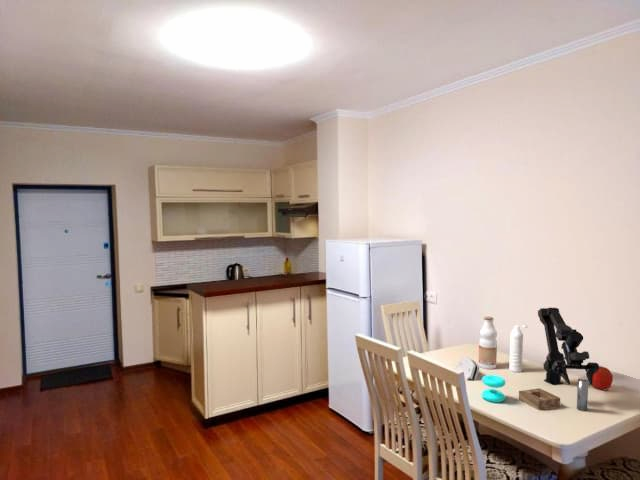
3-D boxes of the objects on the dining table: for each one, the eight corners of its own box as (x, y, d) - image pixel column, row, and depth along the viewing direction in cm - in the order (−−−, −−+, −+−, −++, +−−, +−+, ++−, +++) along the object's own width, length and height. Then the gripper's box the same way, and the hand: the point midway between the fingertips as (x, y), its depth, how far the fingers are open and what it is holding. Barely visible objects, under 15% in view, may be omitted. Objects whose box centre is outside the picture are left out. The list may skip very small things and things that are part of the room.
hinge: (453, 369, 251) (459, 352, 251) (460, 372, 252) (467, 355, 252) (467, 380, 235) (473, 362, 235) (475, 383, 236) (481, 365, 235)
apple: (614, 388, 227) (615, 365, 226) (609, 393, 219) (610, 370, 219) (590, 382, 233) (591, 360, 233) (585, 388, 226) (586, 365, 225)
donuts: (482, 373, 218) (505, 375, 214) (481, 393, 218) (504, 396, 215) (482, 380, 208) (505, 383, 205) (481, 401, 209) (505, 404, 206)
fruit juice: (484, 370, 252) (486, 319, 250) (475, 364, 261) (476, 315, 259) (499, 368, 254) (501, 319, 252) (489, 363, 263) (491, 315, 261)
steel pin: (581, 407, 204) (582, 378, 203) (589, 410, 200) (590, 381, 199) (574, 408, 202) (575, 379, 202) (582, 411, 199) (583, 382, 198)
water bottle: (511, 372, 248) (513, 326, 247) (507, 368, 255) (508, 324, 253) (528, 372, 248) (529, 327, 247) (523, 368, 254) (524, 324, 253)
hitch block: (539, 396, 215) (539, 388, 215) (560, 406, 204) (560, 398, 204) (518, 399, 212) (518, 390, 211) (538, 410, 200) (538, 401, 200)
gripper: (554, 343, 209) (563, 375, 198) (598, 345, 206) (609, 377, 196) (547, 355, 217) (556, 386, 206) (589, 357, 215) (600, 389, 204)
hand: (580, 384), depth 203 cm, fingers open, 9 cm apart
